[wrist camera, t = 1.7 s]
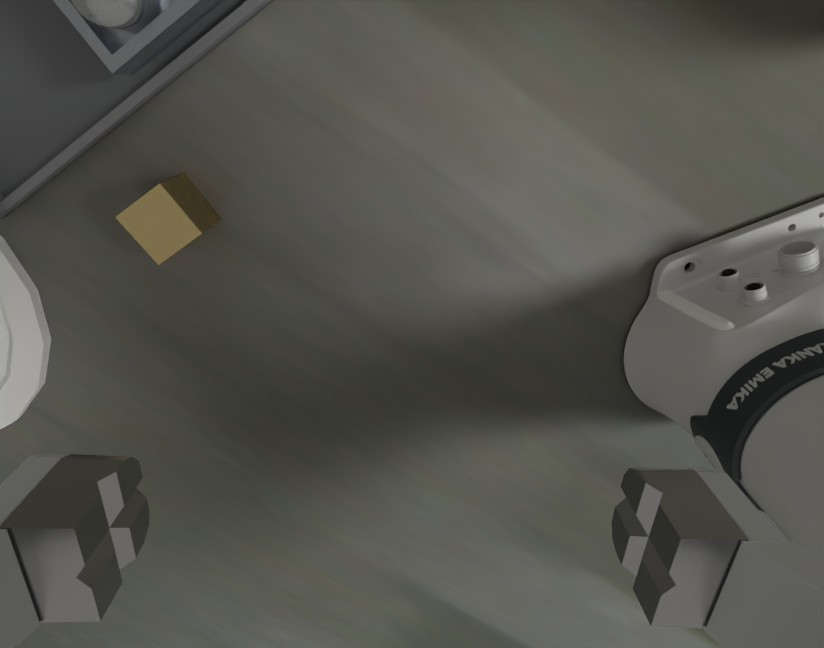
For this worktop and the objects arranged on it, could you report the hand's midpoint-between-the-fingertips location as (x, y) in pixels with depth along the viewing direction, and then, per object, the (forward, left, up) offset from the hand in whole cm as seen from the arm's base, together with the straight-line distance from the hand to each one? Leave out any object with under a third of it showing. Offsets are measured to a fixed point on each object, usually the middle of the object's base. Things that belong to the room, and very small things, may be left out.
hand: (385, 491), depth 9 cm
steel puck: (+7, -18, -29) cm, 35 cm away
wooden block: (+14, -7, -33) cm, 36 cm away
